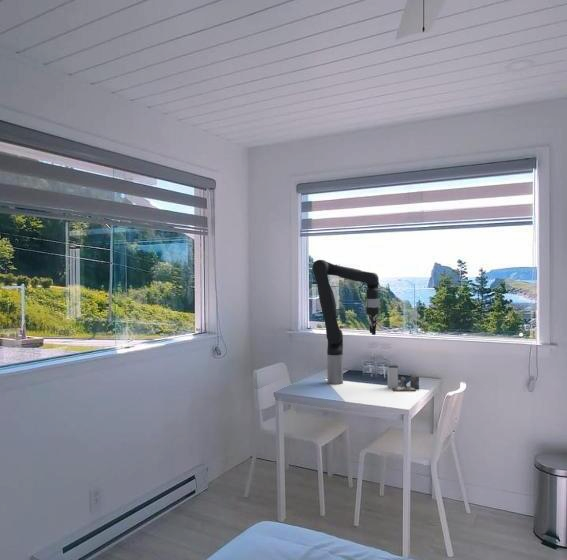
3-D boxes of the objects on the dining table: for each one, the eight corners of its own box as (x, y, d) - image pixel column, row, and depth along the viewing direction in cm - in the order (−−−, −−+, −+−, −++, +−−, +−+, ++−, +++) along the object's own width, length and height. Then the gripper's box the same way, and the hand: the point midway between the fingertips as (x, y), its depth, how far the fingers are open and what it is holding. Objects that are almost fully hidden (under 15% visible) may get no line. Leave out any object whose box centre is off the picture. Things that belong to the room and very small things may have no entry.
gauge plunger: (405, 388, 271) (405, 381, 271) (401, 383, 283) (401, 376, 283) (407, 388, 271) (407, 381, 271) (403, 383, 283) (403, 376, 283)
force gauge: (389, 388, 276) (388, 365, 276) (387, 386, 281) (387, 364, 281) (401, 388, 276) (401, 365, 276) (399, 386, 281) (399, 364, 281)
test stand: (393, 391, 270) (393, 378, 270) (389, 385, 283) (389, 374, 283) (421, 391, 269) (421, 378, 269) (415, 385, 282) (415, 373, 282)
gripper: (364, 305, 294) (364, 332, 294) (367, 307, 280) (367, 335, 280) (376, 305, 294) (377, 332, 294) (380, 307, 279) (381, 335, 280)
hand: (372, 333), depth 287 cm, fingers open, 8 cm apart
